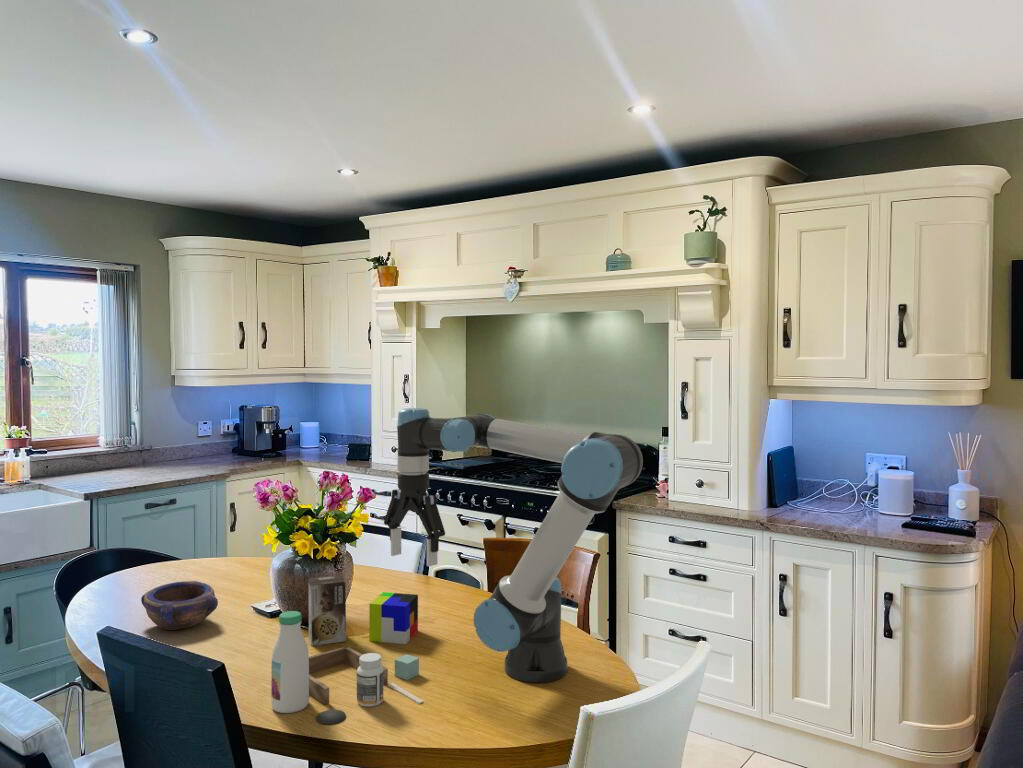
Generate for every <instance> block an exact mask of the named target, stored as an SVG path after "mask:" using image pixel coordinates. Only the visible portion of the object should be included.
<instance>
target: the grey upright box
mask: <svg viewBox="0 0 1023 768" xmlns="http://www.w3.org/2000/svg"><path fill="white" fill-rule="evenodd" d="M307 583H308V584H307V585H308V589H307V590H308V640H309V642H310V646H311V647H314V646H321V645H322V646H323V645H329V644H336V643H344V642H347V612H346V611H347V609H346V608H347V607H346V606H347V605H346V603H347V601H346V600H347V599H346V595H347V594H346V580H345V578H344V577H343V575H342V574H339V575H329V576H320V577H312V578H308V581H307Z"/></svg>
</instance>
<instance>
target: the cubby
mask: <svg viewBox="0 0 1023 768" xmlns="http://www.w3.org/2000/svg"><path fill="white" fill-rule="evenodd" d="M362 655H363V654H362V653H360V652H358V651H356V650H355V649H353V648H351V647H350V646H348V645H346V646H341V647H338V648H335V649H331V650H327V651H325V652H321V653H317V654H314V655H310V656H309V696H311V697H313V698H314V699H316V700H317V701H318V702H320V703H322V704H323V705H324V706H325V705H328V704H330V687H329V686H328V685H326V684H324V683H323V682H322V681H320V680H318V679H317V678H316V677H314V676H312V675H311V673H314V672H319V671H321V670H324V669H327V668H332V667H334V666H335V667H336V666H338V665H341V664H345V663H346V664H348V665H349V666H351V667H353V668H355V670H357V669H358V667H359V666H360V664H359V658H360V656H362ZM380 665H381V664H380ZM381 666H382V667H383V670H384V675H383V682H384V683H383V686H385V685H388V682H389V679H388V677H389V673H388V672H389V671H388V670H389V668H387V667H386V666H383V665H381Z"/></svg>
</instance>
